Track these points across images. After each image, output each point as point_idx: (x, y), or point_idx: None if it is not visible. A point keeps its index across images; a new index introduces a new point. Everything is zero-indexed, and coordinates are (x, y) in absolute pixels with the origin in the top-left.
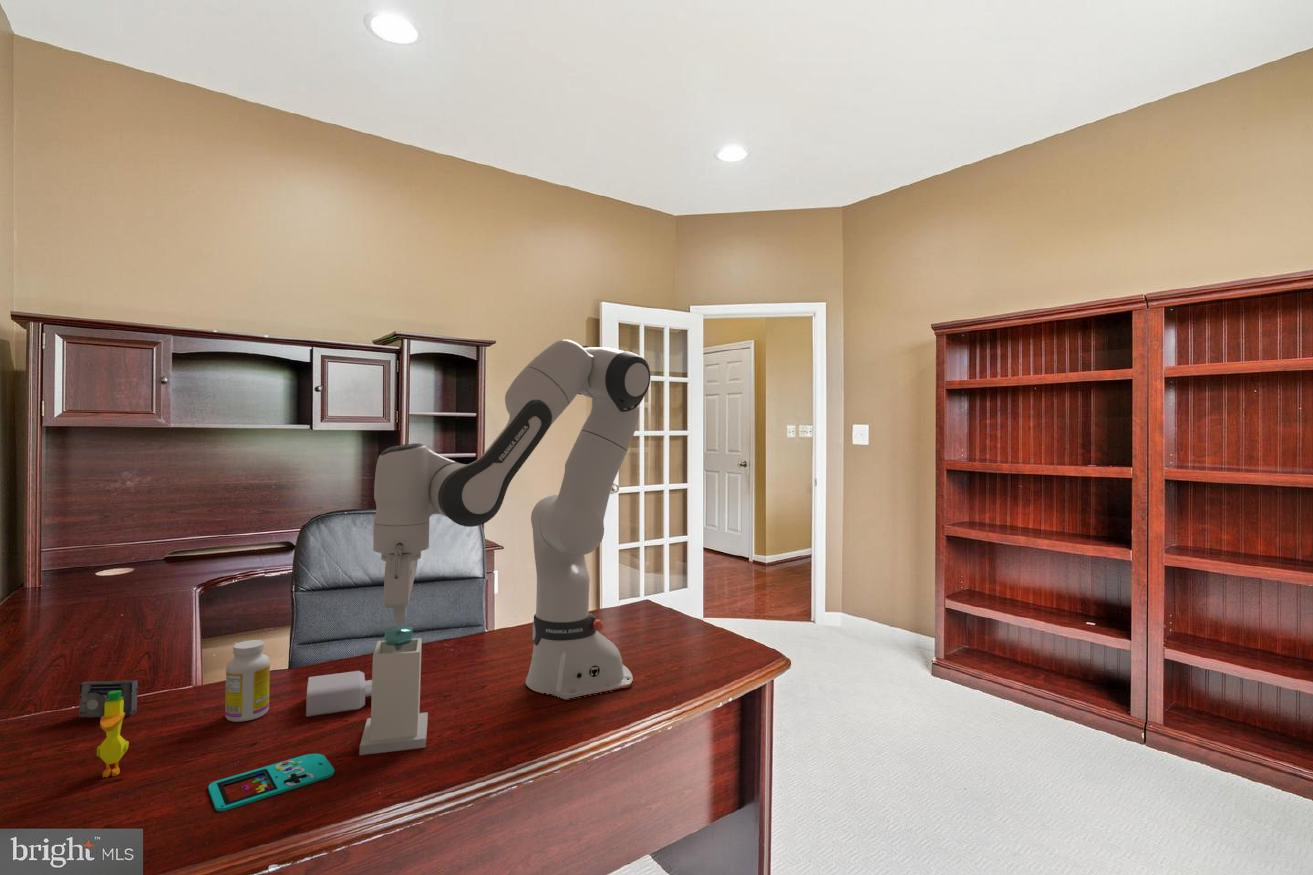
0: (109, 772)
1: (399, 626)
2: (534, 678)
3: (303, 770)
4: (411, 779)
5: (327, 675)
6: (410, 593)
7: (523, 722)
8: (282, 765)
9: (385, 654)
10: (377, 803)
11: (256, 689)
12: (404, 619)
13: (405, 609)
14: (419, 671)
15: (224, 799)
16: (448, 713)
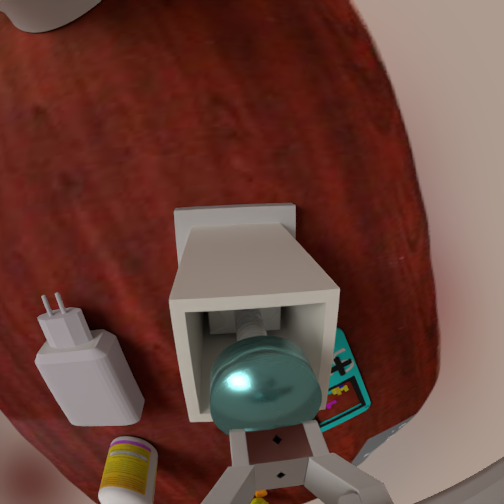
0: (264, 493)
1: (220, 411)
2: (73, 2)
3: None
4: (384, 218)
5: (65, 405)
6: (495, 489)
7: (227, 23)
8: None
9: (328, 383)
10: (421, 256)
11: (144, 472)
12: (316, 424)
13: (343, 459)
14: (297, 262)
15: (355, 410)
16: (149, 168)
